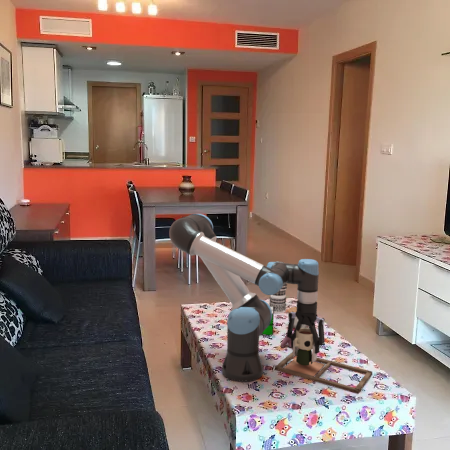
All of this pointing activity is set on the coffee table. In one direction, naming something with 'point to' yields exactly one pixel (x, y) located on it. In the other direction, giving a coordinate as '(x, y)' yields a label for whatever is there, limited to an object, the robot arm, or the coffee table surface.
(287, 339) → the video game controller
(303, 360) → the character mug
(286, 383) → the coffee table surface
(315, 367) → the rail frame
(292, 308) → the lidded jar
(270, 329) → the puzzle cube
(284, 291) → the decorative candle
